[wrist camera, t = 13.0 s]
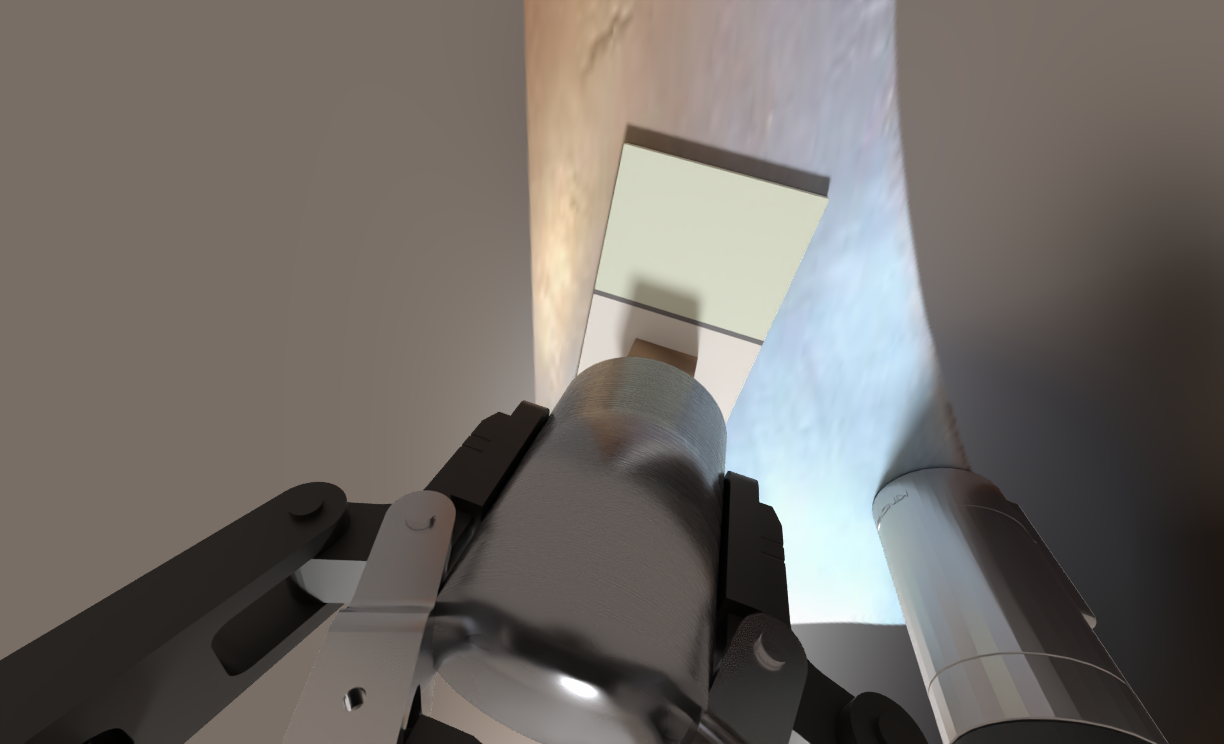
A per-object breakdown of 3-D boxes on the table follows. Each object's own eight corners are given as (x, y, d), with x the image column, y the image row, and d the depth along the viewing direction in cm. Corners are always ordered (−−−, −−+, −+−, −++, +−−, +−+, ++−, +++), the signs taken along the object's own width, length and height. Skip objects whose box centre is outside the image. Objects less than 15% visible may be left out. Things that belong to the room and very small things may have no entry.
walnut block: (698, 357, 34) (691, 392, 30) (679, 407, 37) (670, 445, 33) (636, 337, 35) (621, 369, 30) (621, 388, 37) (606, 423, 33)
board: (827, 196, 27) (829, 199, 27) (716, 437, 39) (715, 445, 38) (627, 142, 29) (624, 143, 28) (576, 390, 40) (572, 396, 39)
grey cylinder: (754, 391, 12) (763, 679, 6) (695, 514, 14) (659, 793, 8) (574, 333, 12) (413, 543, 6) (550, 462, 15) (422, 692, 9)
